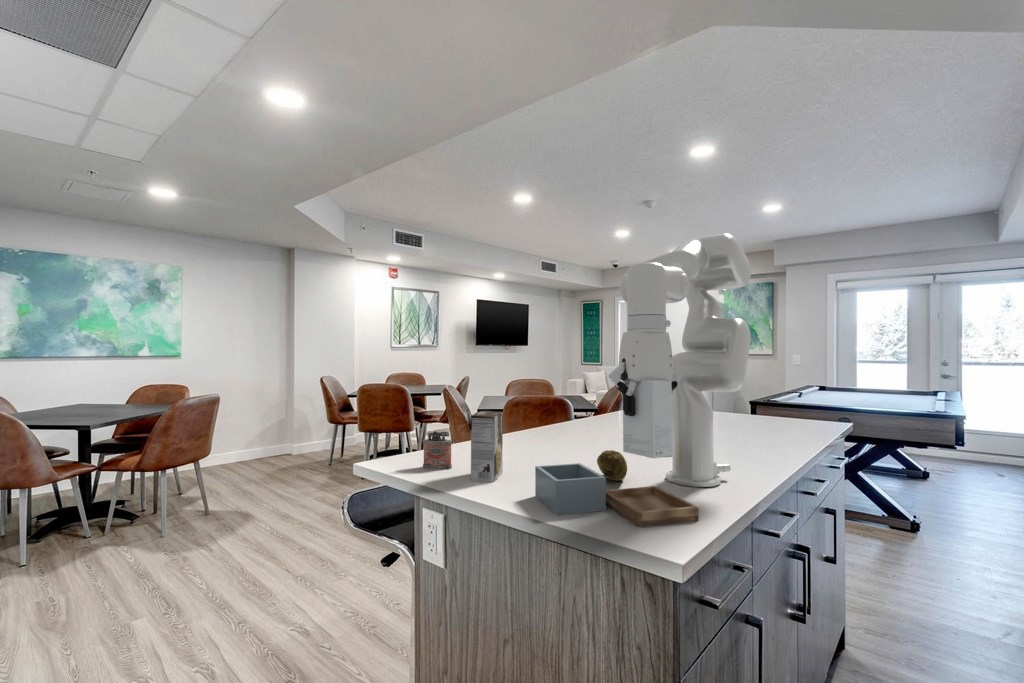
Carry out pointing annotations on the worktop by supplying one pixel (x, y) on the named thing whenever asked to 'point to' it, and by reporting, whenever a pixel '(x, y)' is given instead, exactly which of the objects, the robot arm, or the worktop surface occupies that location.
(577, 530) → the worktop surface
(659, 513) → the tray
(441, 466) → the lighter
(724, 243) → the robot arm
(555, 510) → the grey open box frame
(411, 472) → the worktop surface
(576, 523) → the worktop surface
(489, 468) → the coffee box
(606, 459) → the potato
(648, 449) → the skincare box
